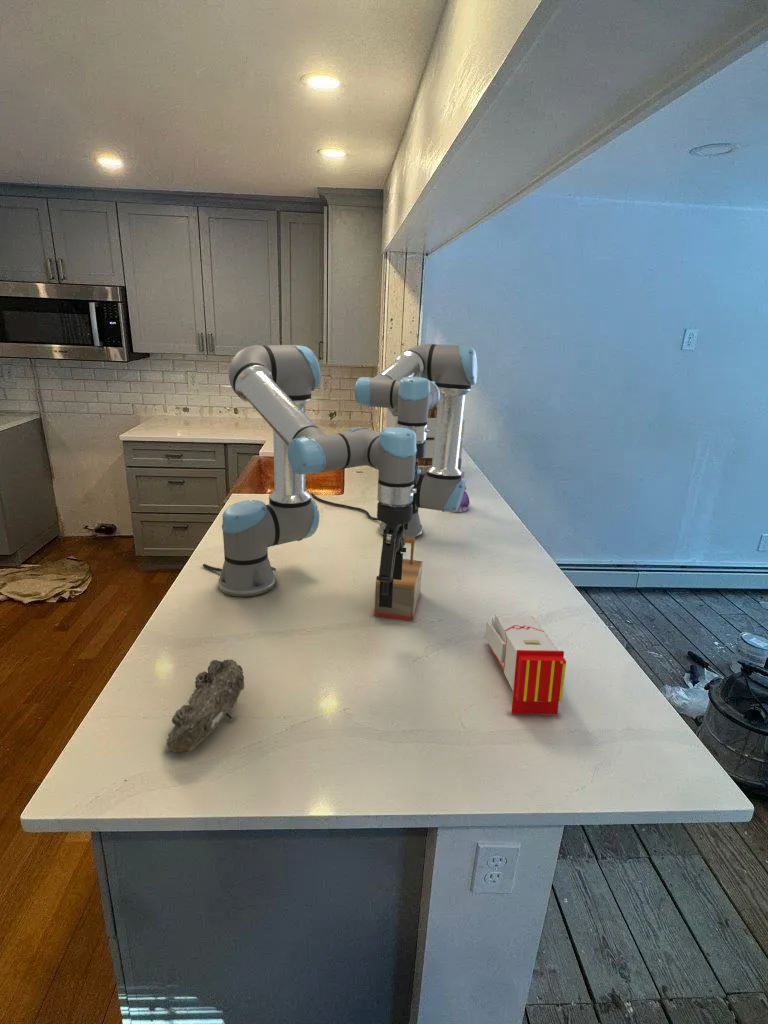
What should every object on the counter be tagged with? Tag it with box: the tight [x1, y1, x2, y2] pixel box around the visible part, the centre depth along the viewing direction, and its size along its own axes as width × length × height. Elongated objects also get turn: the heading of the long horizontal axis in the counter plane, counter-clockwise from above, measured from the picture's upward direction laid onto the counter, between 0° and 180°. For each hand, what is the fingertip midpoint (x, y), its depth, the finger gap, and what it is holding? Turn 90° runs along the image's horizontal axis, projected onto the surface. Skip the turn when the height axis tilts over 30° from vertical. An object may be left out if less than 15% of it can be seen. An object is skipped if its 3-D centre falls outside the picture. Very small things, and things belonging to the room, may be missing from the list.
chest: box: [373, 566, 423, 622], centre depth 151 cm, size 15×10×9 cm, turn 169°
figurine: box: [454, 471, 470, 513], centre depth 225 cm, size 9×10×15 cm
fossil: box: [166, 658, 245, 754], centre depth 106 cm, size 22×10×15 cm
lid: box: [375, 537, 424, 589], centre depth 148 cm, size 16×10×8 cm, turn 169°
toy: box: [484, 614, 567, 716], centre depth 124 cm, size 12×13×30 cm
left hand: (390, 592), depth 127 cm, fingers open, 13 cm apart
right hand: (406, 519), depth 150 cm, fingers open, 13 cm apart
